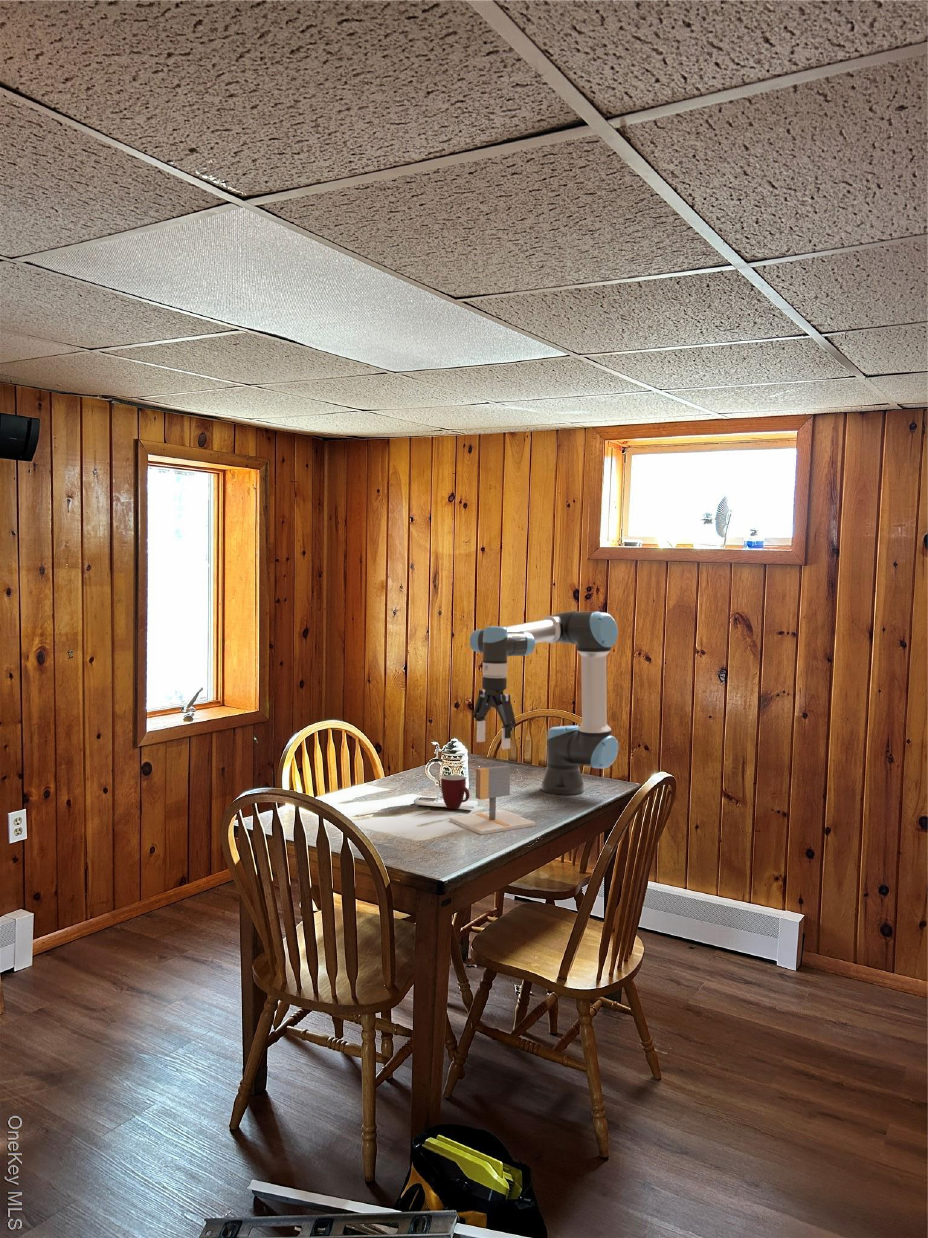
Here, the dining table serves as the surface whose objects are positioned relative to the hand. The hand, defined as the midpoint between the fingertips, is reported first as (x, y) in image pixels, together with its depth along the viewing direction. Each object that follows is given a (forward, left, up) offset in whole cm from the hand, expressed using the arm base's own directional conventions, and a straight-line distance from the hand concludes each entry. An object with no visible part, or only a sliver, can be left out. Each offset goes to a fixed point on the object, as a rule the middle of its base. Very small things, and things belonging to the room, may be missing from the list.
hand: (493, 745), depth 281 cm
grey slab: (0, 0, -16) cm, 16 cm away
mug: (0, -21, -25) cm, 32 cm away
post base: (0, 0, -24) cm, 24 cm away
